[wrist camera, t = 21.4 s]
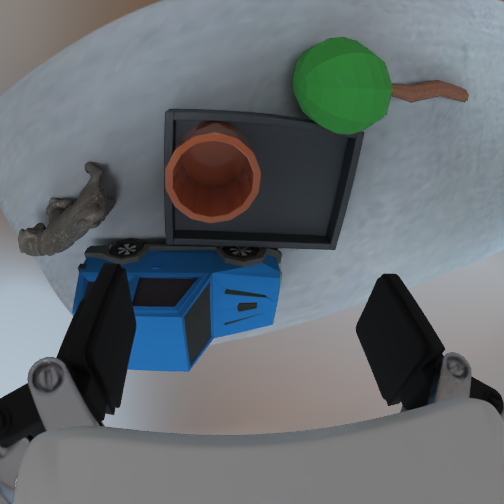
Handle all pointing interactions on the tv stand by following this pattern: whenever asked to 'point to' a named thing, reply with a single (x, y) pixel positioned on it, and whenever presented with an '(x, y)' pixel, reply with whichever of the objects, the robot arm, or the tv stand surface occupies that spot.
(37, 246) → the dog figurine
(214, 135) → the terracotta pot
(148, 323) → the toy car
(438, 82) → the tree
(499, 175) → the tv stand surface
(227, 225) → the tray
